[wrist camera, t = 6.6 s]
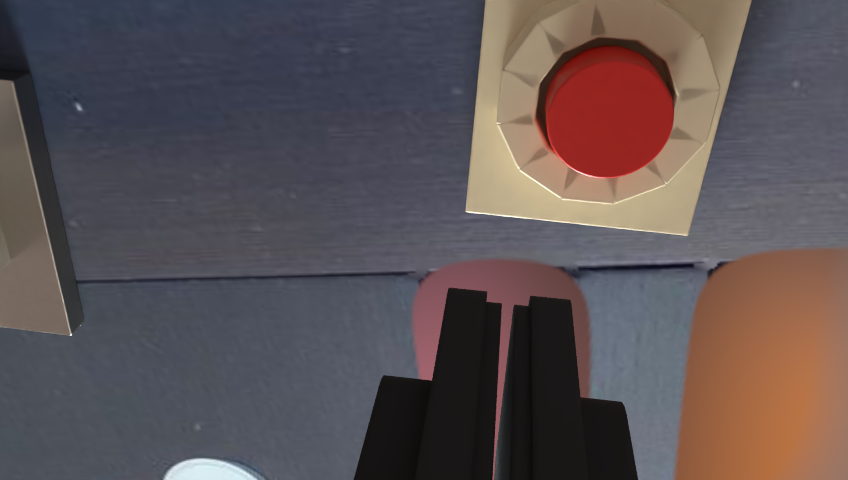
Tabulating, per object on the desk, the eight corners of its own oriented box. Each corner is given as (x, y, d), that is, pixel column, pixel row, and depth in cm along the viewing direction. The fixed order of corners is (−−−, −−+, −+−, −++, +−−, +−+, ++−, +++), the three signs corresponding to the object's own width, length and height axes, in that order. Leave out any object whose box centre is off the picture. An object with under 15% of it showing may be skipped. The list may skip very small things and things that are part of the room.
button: (554, 39, 21) (556, 54, 20) (676, 50, 21) (688, 65, 20) (537, 151, 23) (539, 172, 22) (650, 162, 23) (659, 184, 21)
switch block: (496, -92, 23) (491, -81, 20) (749, -74, 23) (790, -60, 19) (469, 187, 28) (461, 235, 25) (676, 209, 27) (699, 261, 24)
